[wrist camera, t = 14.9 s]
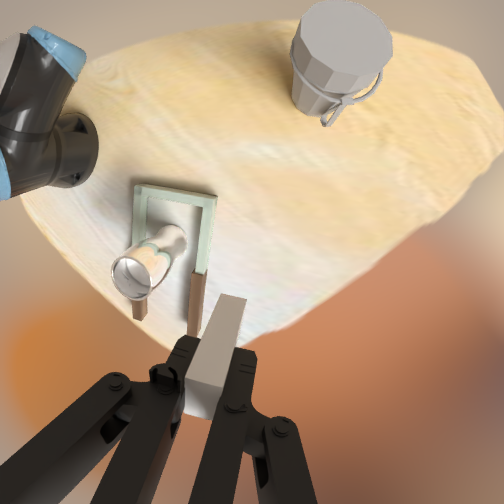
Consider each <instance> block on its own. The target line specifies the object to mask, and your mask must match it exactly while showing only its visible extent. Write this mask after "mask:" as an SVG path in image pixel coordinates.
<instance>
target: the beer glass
mask: <svg viewBox="0 0 504 504" xmlns="http://www.w3.org/2000/svg"><path fill="white" fill-rule="evenodd" d="M187 248H188V239H187V236H186V234H185V233H184V231H183V230H182V229H180V228H179V227H177V226H174V225H167V226H164V227H162V228H161V229H160V230H159V231H158V233H157V234H156V235H155V236H153V237H150V238H147V239H144V240H142V241H140V242H137V243H136V244H134V245H133V246H131V247H130V248H128V249H127V250H126V251H125V252H124V253H123V254H122V255H121V256H120V257H119V258H117V259H116V260H115V261H114V263H113V264H112V267H111V277H112V280H113V283H114V285H115V287H116V288H117V290H118V291H119V292H120V293H121V294H122V295H124V296H125V297H127V298H128V299H131V300H135V301H141V300H144V299H146V298H147V297H148V296H149V295H150V294H151V293H152V292H153V291H155V290H156V289H157V288H158V287H159V286H160V285H161V284H162V282H163V281H164V280H165V278H166V277H167V275H168V274H169V272H170V270H171V268H172V266H173V263H174V261H175V260H176V259H177V258H179V257H181V256H182V255H183V254H184V253H185V252H186V250H187Z"/></svg>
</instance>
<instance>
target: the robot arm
mask: <svg viewBox="0 0 504 504" xmlns="http://www.w3.org/2000/svg"><path fill="white" fill-rule="evenodd" d="M85 62H86V53H85V52H84V50H82V49H81V48H79V47H77V46H75V45H73V44H71V43H69V42H68V41H66V40H64V39H62V38H60V37H58V36H56V35H54V34H51V33H50V32H48V31H46V30H44V29H42V28H40V27H37V26H32V27H31V29H29V30H28V32H27V34H23V33H14V34H13V35H11V36H10V37H8V38H6V39H5V40H3V41H0V201H1V200H8V199H9V198H12V197H15V196H17V195H20V194H23V193H26V192H28V191H31V190H34V189H37V188H40V187H43V186H47V185H48V186H53V187H59V188H71V187H75V186H78V185H80V184H82V183H83V182H85V181H86V180H87V179H88V177H89V176H90V175H91V173H92V171H93V169H94V167H95V164H96V161H97V157H98V146H99V145H98V136H97V132H96V129H95V126H94V125H93V123H92V121H91V120H90V119H89V118H88V117H87V116H85V115H83V114H78V113H69V114H65V115H62V116H60V117H59V114H60V112H61V110H62V108H63V106H64V104H65V101H66V99H67V97H68V95H69V93H70V91H71V89H72V87H73V86H74V84H75V82H77V80H78V76H79V74H80V72H81V70H82V68H83V66H84V64H85ZM246 301H247V299H243V298H239V297H234V296H230V295H226V294H222V293H221V295H220V297H219V299H218V302H217V304H216V306H215V308H214V311H213V313H212V315H211V318H210V320H209V322H208V324H207V327H206V329H205V331H204V334H203V336H202V338H201V339H199V338H196V337H192V336H188V335H184V336H183V337H181V338H180V339H178V341H177V342H176V344H175V346H174V348H173V350H172V352H171V354H170V356H169V358H168V360H167V361H166V363H163V364H157V365H155V366H153V367H152V368H151V369H150V370H149V375H150V381H149V382H133V381H130V380H129V378H128V377H127V376H126V375H124V374H122V373H119V372H112V373H109V374H107V375H105V376H104V377H102V378H101V379H100V380H99V381H98V382H97V383H95V384H94V385H93V386H92V387H91V388H90V389H89V390H87V391H86V392H85V393H84V394H83V395H82V396H81V397H79V398H78V399H77V400H76V401H75V402H74V403H72V404H71V405H70V406H69V407H68V408H66V409H65V410H64V411H63V412H62V413H61V414H60V415H58V416H57V417H56V418H55V419H54V420H53V421H51V422H50V423H49V424H48V425H47V426H46V427H45V428H43V429H42V430H41V431H40V432H39V433H38V434H37V435H36V436H34V437H33V438H32V439H31V440H30V441H28V442H27V443H26V444H25V445H24V446H23V447H22V448H21V449H19V450H18V451H17V452H16V453H15V454H14V455H12V456H11V457H10V458H9V459H8V460H7V461H6V462H4V463H3V464H2V465H1V466H0V504H58V503H60V502H61V500H63V499H64V498H65V496H67V495H68V493H69V492H71V491H72V489H74V487H75V486H76V485H77V484H78V483H79V482H80V481H81V480H82V479H83V478H84V477H85V476H86V475H87V474H88V473H89V472H90V471H91V470H92V469H93V468H94V467H95V466H96V465H97V464H98V463H99V462H100V460H101V459H102V458H103V457H104V456H105V455H106V454H107V453H108V452H109V451H110V450H111V449H112V448H113V447H114V446H115V445H116V444H117V442H118V441H119V440H120V439H121V438H122V439H121V441H120V443H119V445H118V447H117V449H116V451H115V453H114V455H113V457H112V459H111V461H110V463H109V465H108V467H107V469H106V471H105V473H104V475H103V477H102V479H101V481H100V484H99V486H98V488H97V490H96V492H95V494H94V496H93V498H92V501H91V503H90V504H151V502H152V499H153V497H154V494H155V491H156V489H157V485H158V483H159V480H160V477H161V475H162V472H163V469H164V467H165V464H166V461H167V458H168V455H169V453H170V450H171V447H172V445H173V442H174V439H175V436H176V434H177V431H178V429H179V426H180V423H181V415H182V412H183V410H184V413H186V414H190V415H193V416H196V417H200V418H204V419H208V420H212V424H211V427H210V431H209V434H208V438H207V441H206V445H205V448H204V452H203V456H202V459H201V462H200V465H199V469H198V472H197V476H196V479H195V483H194V486H193V489H192V493H191V496H190V500H189V503H188V504H233V499H234V494H235V489H236V484H237V479H238V474H239V469H240V464H241V458H242V453H243V451H244V452H245V453H247V454H249V455H252V460H253V467H254V473H255V480H256V487H257V494H258V500H259V504H317V500H316V496H315V492H314V489H313V485H312V481H311V477H310V474H309V470H308V466H307V462H306V458H305V455H304V451H303V447H302V443H301V440H300V436H299V432H298V428H297V426H296V424H295V423H294V422H293V421H292V420H291V419H288V418H286V417H281V416H277V417H273V418H269V417H266V416H264V415H262V414H261V413H259V412H258V411H256V410H255V408H254V407H253V405H252V402H251V395H252V390H253V383H254V377H255V371H256V365H257V357H256V354H255V352H254V351H251V350H247V349H242V348H238V347H236V345H237V341H238V338H239V333H240V329H241V324H242V319H243V315H244V310H245V305H246Z"/></svg>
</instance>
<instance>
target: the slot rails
mask: <svg viewBox="0 0 504 504" xmlns="http://www.w3.org/2000/svg"><path fill="white" fill-rule="evenodd" d="M195 270H196V268H195V269H194V271H193V272H192V274H191V285H190V296H189V309H188V323H187V335H188V336H192V337H196V338H197V335H198V333H199V331H200V329H201V320H202V310H203V301H204V293H205V284H206V276H207V270H206V272H205V273H204V275H203V274H199V273H195ZM132 311H133V319H136V320H139V321H142V320H143V318H144V317H145V316H146V314H147V298H146V299H144V300H141V301H135V300H132Z"/></svg>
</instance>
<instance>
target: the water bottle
mask: <svg viewBox="0 0 504 504" xmlns="http://www.w3.org/2000/svg"><path fill="white" fill-rule="evenodd" d="M392 56H393V51H392V36H391V34H390V32H389V31H388V29H387V27H386V26H385V24H384V23H383V21H382V20H381V18H380V17H379V16H377V15H376V14H374V13H373V12H371V11H370V10H368V9H367V8H365V7H364V6H362V5H361V4H358V3H354V2H350V1H345V0H328V1H323V2H319V3H315V4H314V5H313V6H312V7H311V8H310V9H309V10H308V11H307V12H306V13H305V14H304V15H303V16H302V17H301V20H300V23H299V26H298V29H297V31H296V34H295V37H294V38H293V40H292V45H291V50H290V57H291V61H292V65H293V69H294V75H293V86H292V97H291V98H292V100H293V102H294V104H295V106H296V108H297V109H298V110H300V111H301V112H303V113H304V114H306V115H307V116H314V117H321V119H320V121H321V123H322V126H323V127H329V126H331V125H332V124H333V123H334V121H335V120H336V119H337V117H338V116H339V115H340V113H341V112H342V111H343V109H344V108H345V107H346V105H354V103H357V102H362V101H364V100H365V99H367V98H368V97H370V96H371V95H372V94H374V93H375V91H376V89H377V88H378V86H379V84H380V83H381V81H382V75H383V67H384V66H385V65H386V64H387V62H388V61H389V60H390V59H391V57H392ZM378 74H379V75H378ZM377 75H378V79H377V81H376V83H375V85H374V86H373V88H372V89H371V90H370V91H369V92H368V93H367V94H365V95H363V96H362V97H359V98H356V99H353V98H351V97H353V96H354V95H356V94H357V93H358V92H360V91H361V90H362V89H364V88H367V87H368V86H369V85H370V84H371V82H372V81H373V80H374V79H375V77H376V76H377ZM333 111H335V112H334V113H333V115H332V116H331V118H330V119H329V121H328V122H327V120H326V117H327V115H328V114H330V113H331V112H333Z"/></svg>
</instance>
